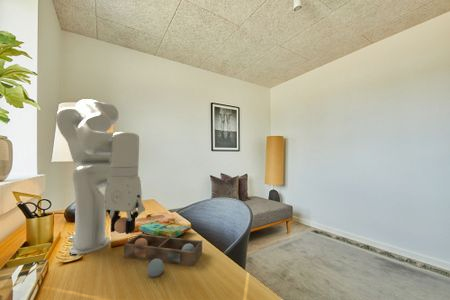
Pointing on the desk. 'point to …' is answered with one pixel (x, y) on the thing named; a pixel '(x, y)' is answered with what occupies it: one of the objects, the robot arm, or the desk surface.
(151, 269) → the slate ball
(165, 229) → the puzzle game
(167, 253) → the divided wooden box
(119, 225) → the terracotta ball
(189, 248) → the blue-grey ball
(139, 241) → the tan rounded piece
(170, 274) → the desk surface
